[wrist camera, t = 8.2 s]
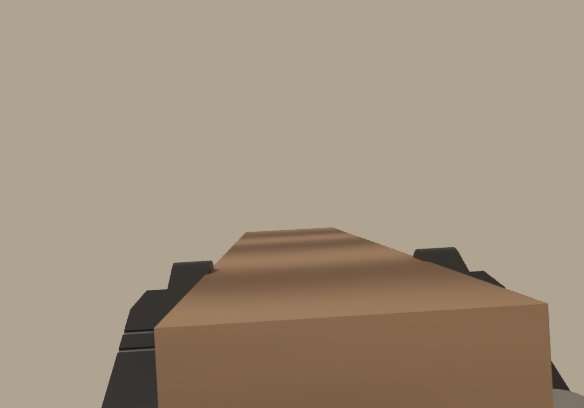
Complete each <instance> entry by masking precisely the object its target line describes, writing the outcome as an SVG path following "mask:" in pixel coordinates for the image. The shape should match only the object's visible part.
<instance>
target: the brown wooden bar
mask: <svg viewBox="0 0 584 408" xmlns="http://www.w3.org/2000/svg"><path fill="white" fill-rule="evenodd" d="M213 267H214V269H213V270H212V271H211V273H210V274H209V275H205V276H204V277H203V278H202V279H201V280H200V281H199V282H198V283H197V284H196V285H195V286H194V287H193V288H192V289H191V290H190V291H189V292H188V293H187V294H186V295H185V296H184V297H183V299H182V300H181V301H180V302H179V303H178V304H177V305H176V306H175V307H174V308H173V309H172V310H171V311H170V312H169V313H168V314H167V315H166V316H165V317H164V318H163V319H162V320H161V321H160V322H159V324H158V325H157V326H156V327H155V328H154V337H155V356H156V374H157V393H158V408H554V405H553V387H552V369H551V351H550V333H549V315H548V304H547V303H545V302H542V301H539V300H536V299H533V298H530V297H528V296H525V295H522V294H519V293H516V292H513V291H510V290H507V289H505V288H502V287H499V286H496V285H494V284H491V283H488V282H485V281H482V280H479V279H477V278H474V277H471V276H468V275H465V274H462V273H460V272H457V271H454V270H451V269H448V268H445V267H443V266H440V265H437V264H434V263H431V262H425V261H422V260H419V259H416V258H414V257H413V256H411V255H408V254H406V253H403V252H400V251H397V250H394V249H391V248H388V247H386V246H383V245H380V244H377V243H374V242H372V241H369V240H366V239H363V238H360V237H357V236H354V235H352V234H349V233H346V232H343V231H340V230H338V229H335V228H315V229H297V230H280V231H261V232H246V233H245V234H244V235H243V236H242V237H241V238H240V239H239V240H238V241H237V242H236V243H235V244H234V246H232V248H231V249H230V250H229V251H228V252H227V253H226V254H225V255H224V256H223V257H222V258H221V259H220V260H219V261H218V262H217V263H216V264H215V265H214V266H213Z"/></svg>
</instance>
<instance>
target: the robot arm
mask: <svg viewBox="0 0 584 408" xmlns="http://www.w3.org/2000/svg"><path fill="white" fill-rule="evenodd" d="M413 257H414V258H416V259H419V260H422V261H425V262H431V263H434V264H437V265H440V266H443V267H445V268H448V269H451V270H454V271H457V272H460V273H462V274H465V275H468V276H471V277H474V278H477V279H479V280H482V281H485V282H488V283H491V284H494V285H496V286H499V287H502V288H505V287H504V286H503V285H501V284H500V283H499V282H497V281H496V280H495V279H494V278H492V277H491V276H490V275H488V274H487V273H486V272H484V271H476V272H469V270H468V268H467V267H466V265H465V263H464V261H463V260H462V258H461V256H460V254H459V252H458V251H457V249H456V248H454V247H450V248H449V247H447V248H430V249H417V250H415V252H414V255H413ZM213 269H214V267H213V263H212V261H197V262H181V263H174V264H173V266H172V270H171V276H170V280H169V284H168V289H165V290H150V291H149V290H148V291H146V292H145V293H144V294H143V296H142V297H141V298H140V299H139V300H138V301H137V302H136V304H135V305H134V306H133V307H132V308H131V309H130V313H129V316H128V319H127V323H126V326H125V329H124V335H123V336H122V340H121V343H120V346H119V353H117V357H116V360H115V364H114V367H113V370H112V374H111V377H110V380H109V384H108V387H107V391H106V394H105V397H104V401H103V404H102V408H158V393H157V374H156V356H155V337H154V328H155V327H156V326H157V325H158V324H159V322H160V321H161V320H162V319H163V318H164V317H165V316H166V315H167V314H168V313H169V312H170V311H171V310H172V309H173V308H174V307H175V306H176V305H177V304H178V303H179V302H180V301H181V300H182V299H183V297H184V296H185V295H186V294H187V293H188V292H189V291H190V290H191V289H192V288H193V287H194V286H195V285H196V284H197V283H198V282H199V281H200V280H201V279H202V278H203V277H204V276H205V275H209V274H210V273H211V271H212V270H213ZM551 369H552V387H553V405H554V408H584V396H582V395H579V394H577V393H574V392H571V391H570V390H569V388H568V387H567V385H566V383H565V382H564V380H563V379H562V377H561V376H560V374H559V372H558V371H557V369H556V368H555V366H554V365H553V363H552V361H551Z"/></svg>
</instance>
